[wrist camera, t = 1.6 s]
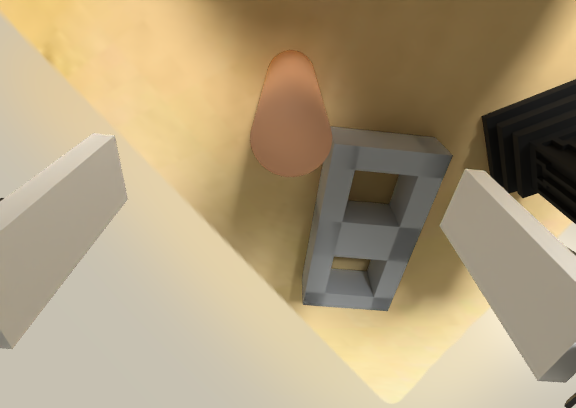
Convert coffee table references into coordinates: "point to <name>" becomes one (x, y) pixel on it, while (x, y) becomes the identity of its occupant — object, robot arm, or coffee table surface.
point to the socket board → (369, 216)
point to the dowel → (291, 118)
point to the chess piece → (536, 147)
